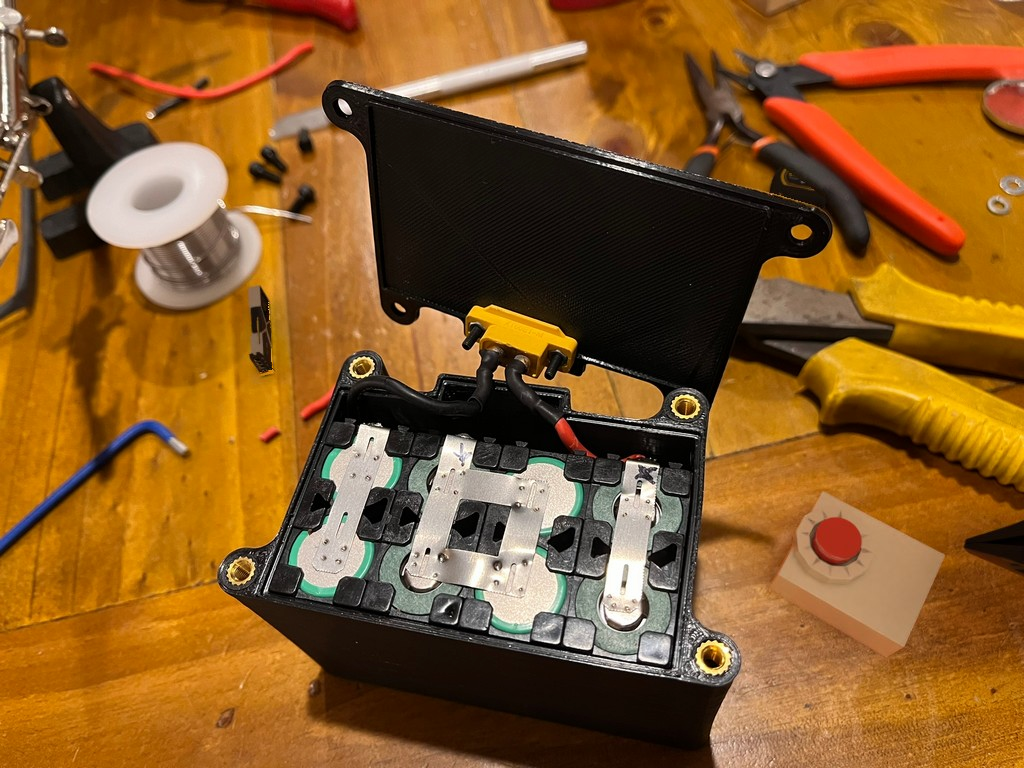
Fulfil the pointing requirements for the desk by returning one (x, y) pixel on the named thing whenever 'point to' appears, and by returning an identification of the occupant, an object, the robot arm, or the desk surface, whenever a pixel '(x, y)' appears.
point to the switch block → (860, 578)
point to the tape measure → (795, 188)
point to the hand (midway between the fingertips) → (966, 546)
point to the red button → (837, 540)
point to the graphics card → (260, 329)
